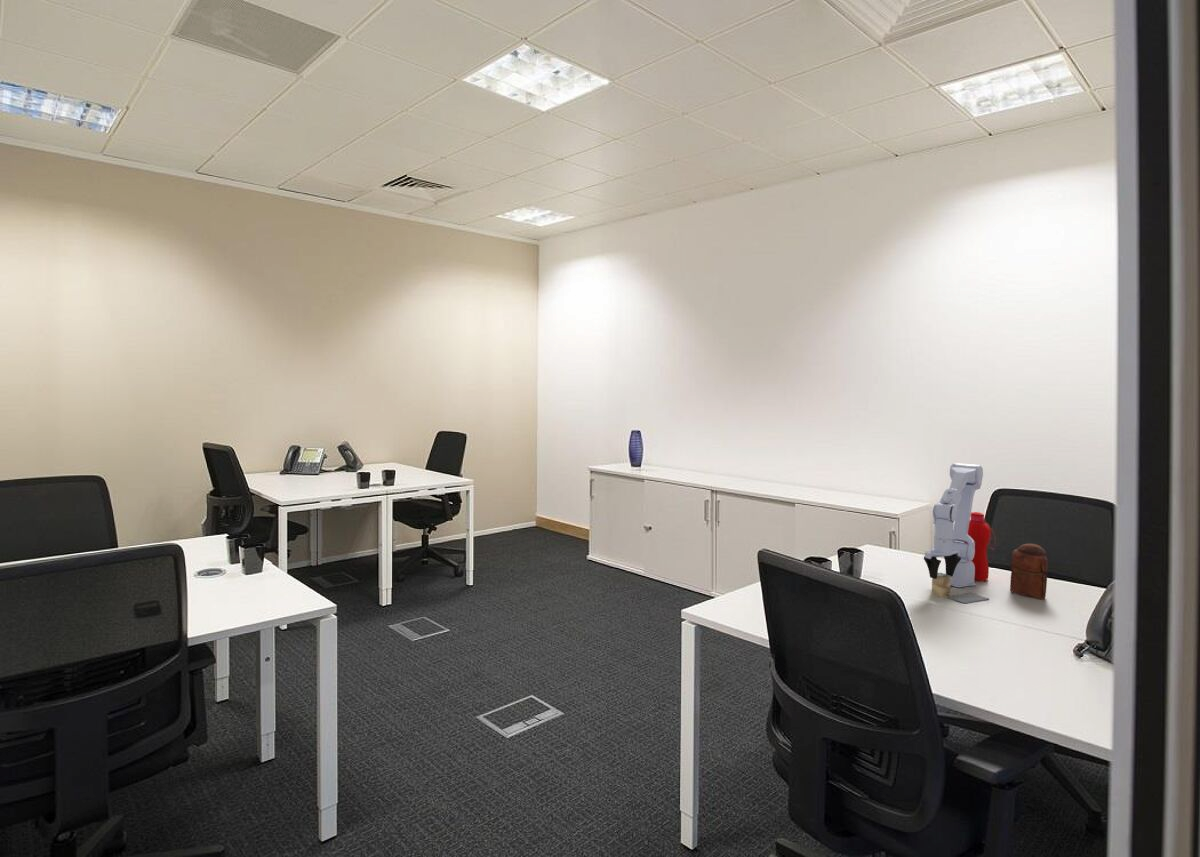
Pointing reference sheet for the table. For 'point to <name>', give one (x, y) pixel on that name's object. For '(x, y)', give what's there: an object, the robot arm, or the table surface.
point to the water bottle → (980, 544)
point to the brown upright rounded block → (1029, 571)
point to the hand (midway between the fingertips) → (941, 577)
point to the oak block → (941, 585)
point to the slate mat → (967, 598)
